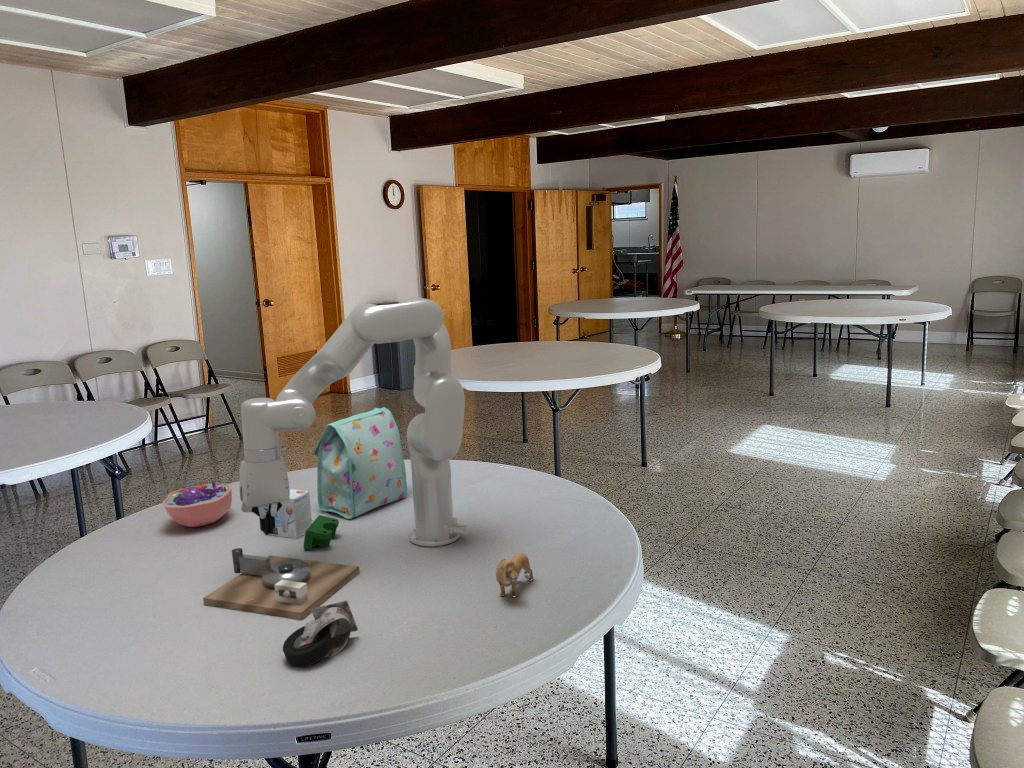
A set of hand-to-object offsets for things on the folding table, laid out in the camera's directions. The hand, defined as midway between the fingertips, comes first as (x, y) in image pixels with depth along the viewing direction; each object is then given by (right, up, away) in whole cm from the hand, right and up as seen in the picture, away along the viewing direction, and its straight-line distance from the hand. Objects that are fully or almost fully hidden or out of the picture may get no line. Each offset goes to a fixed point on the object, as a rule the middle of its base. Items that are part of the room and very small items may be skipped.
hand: (268, 532), depth 167 cm
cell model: (-29, -4, +35) cm, 46 cm away
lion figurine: (+56, -10, -12) cm, 58 cm away
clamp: (+8, -6, +18) cm, 20 cm away
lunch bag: (+13, -1, +44) cm, 46 cm away
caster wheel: (+20, -16, -33) cm, 42 cm away
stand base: (+6, -11, -7) cm, 14 cm away
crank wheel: (+2, -9, -5) cm, 10 cm away
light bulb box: (-3, -5, +25) cm, 26 cm away
